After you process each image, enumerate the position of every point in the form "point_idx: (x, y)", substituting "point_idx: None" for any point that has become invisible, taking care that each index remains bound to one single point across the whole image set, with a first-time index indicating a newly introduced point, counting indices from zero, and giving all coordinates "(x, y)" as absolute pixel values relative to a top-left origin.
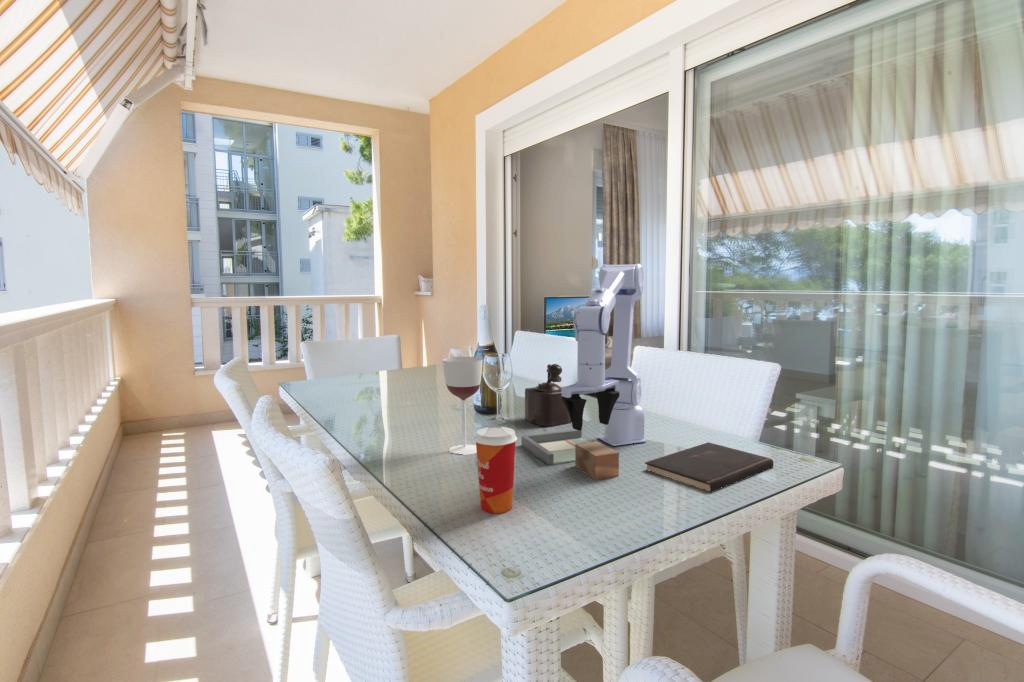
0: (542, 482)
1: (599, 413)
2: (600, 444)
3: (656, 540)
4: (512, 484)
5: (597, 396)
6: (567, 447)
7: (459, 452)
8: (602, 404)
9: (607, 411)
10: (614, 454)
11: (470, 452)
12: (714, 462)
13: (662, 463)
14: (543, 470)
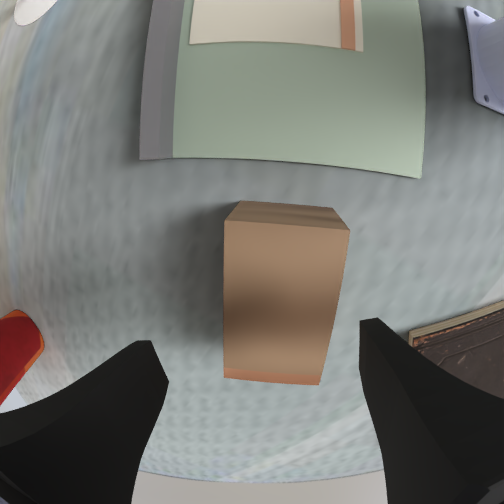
0: (100, 279)
1: (377, 357)
2: (329, 281)
3: (202, 480)
4: (22, 376)
5: (432, 458)
6: (308, 27)
7: (22, 14)
8: (399, 439)
9: (379, 436)
10: (300, 381)
11: (36, 11)
12: (501, 382)
13: (437, 361)
14: (126, 196)
